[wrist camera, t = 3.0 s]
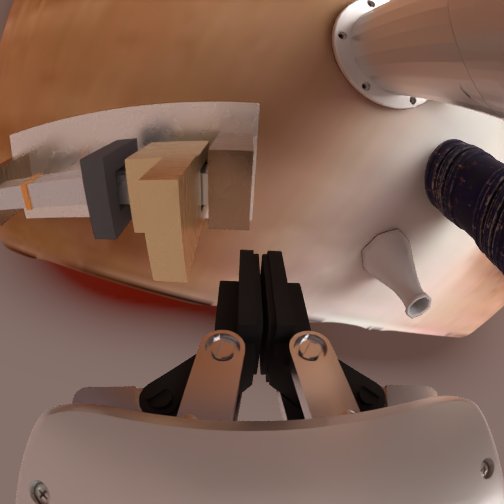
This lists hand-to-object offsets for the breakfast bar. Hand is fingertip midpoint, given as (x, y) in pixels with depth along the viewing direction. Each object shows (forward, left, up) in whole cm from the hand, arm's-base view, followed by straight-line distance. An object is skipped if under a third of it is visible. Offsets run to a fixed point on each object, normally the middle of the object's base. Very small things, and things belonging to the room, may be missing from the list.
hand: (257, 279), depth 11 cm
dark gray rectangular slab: (+11, 0, -14) cm, 18 cm away
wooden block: (+6, 0, -13) cm, 15 cm away
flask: (-18, +10, -18) cm, 27 cm away
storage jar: (-25, -2, -18) cm, 31 cm away
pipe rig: (+15, 0, -18) cm, 23 cm away
